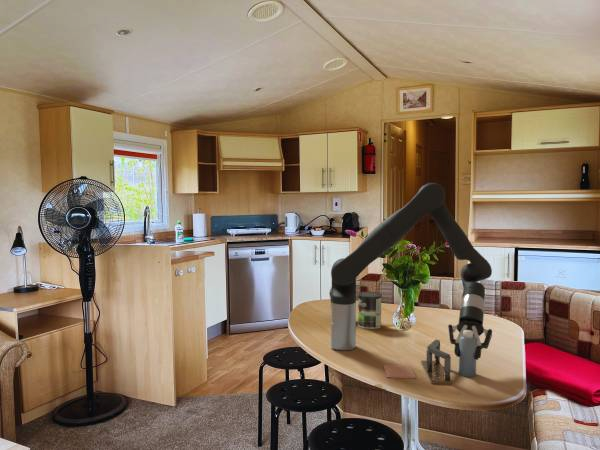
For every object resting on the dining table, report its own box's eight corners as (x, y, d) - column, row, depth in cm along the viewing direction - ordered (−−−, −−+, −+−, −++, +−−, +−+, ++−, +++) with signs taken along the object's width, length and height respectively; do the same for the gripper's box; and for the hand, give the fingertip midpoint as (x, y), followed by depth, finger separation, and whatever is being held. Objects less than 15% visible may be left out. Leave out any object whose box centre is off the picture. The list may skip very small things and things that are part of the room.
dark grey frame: (431, 384, 142) (432, 356, 141) (421, 363, 159) (421, 338, 158) (451, 384, 142) (452, 356, 141) (438, 363, 159) (439, 338, 158)
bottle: (461, 377, 147) (462, 333, 146) (456, 370, 152) (457, 328, 151) (478, 377, 147) (479, 333, 146) (473, 371, 152) (474, 329, 151)
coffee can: (365, 330, 196) (365, 297, 195) (353, 324, 206) (353, 292, 205) (386, 327, 201) (386, 295, 200) (373, 321, 210) (373, 290, 209)
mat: (387, 377, 147) (387, 376, 147) (383, 365, 157) (383, 364, 157) (415, 378, 146) (416, 377, 146) (410, 366, 156) (410, 365, 156)
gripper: (448, 302, 158) (442, 348, 148) (494, 307, 152) (491, 355, 142) (450, 314, 163) (444, 359, 153) (495, 319, 157) (491, 366, 147)
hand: (467, 357), depth 147 cm, fingers closed on bottle, 5 cm apart
